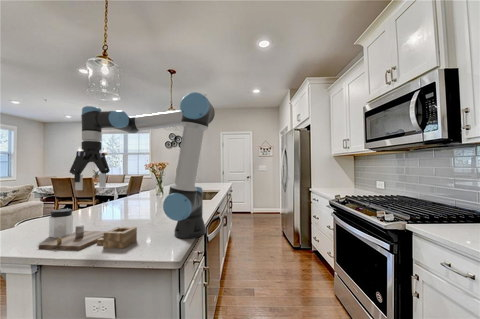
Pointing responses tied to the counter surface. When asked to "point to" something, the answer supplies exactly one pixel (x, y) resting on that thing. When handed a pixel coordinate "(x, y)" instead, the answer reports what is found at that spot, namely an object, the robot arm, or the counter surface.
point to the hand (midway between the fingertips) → (91, 188)
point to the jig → (74, 240)
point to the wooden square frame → (119, 237)
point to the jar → (60, 223)
